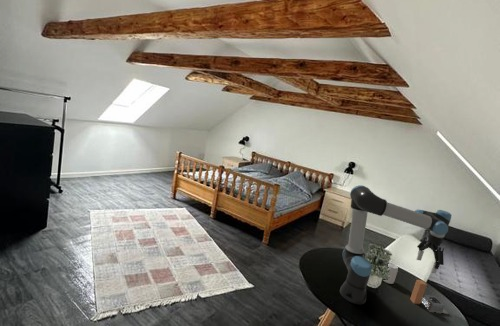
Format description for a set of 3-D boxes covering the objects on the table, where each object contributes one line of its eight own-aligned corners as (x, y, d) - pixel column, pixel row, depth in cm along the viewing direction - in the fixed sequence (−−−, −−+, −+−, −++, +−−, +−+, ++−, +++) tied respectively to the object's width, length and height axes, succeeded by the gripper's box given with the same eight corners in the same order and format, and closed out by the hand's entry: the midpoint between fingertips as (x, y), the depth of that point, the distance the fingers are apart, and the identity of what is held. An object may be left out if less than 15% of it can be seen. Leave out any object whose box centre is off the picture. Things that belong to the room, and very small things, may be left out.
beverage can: (380, 281, 191) (385, 265, 189) (381, 275, 198) (386, 260, 196) (393, 286, 188) (398, 270, 185) (393, 280, 195) (398, 265, 192)
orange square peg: (413, 303, 173) (420, 283, 170) (410, 299, 177) (416, 279, 174) (419, 304, 173) (426, 284, 170) (415, 299, 177) (422, 280, 174)
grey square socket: (429, 311, 167) (431, 305, 167) (417, 298, 179) (419, 292, 178) (448, 314, 168) (450, 308, 167) (434, 300, 180) (436, 294, 179)
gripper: (458, 246, 159) (446, 279, 163) (428, 226, 183) (418, 255, 187) (446, 244, 158) (434, 277, 162) (417, 225, 182) (407, 254, 186)
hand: (425, 266), depth 175 cm, fingers open, 13 cm apart
